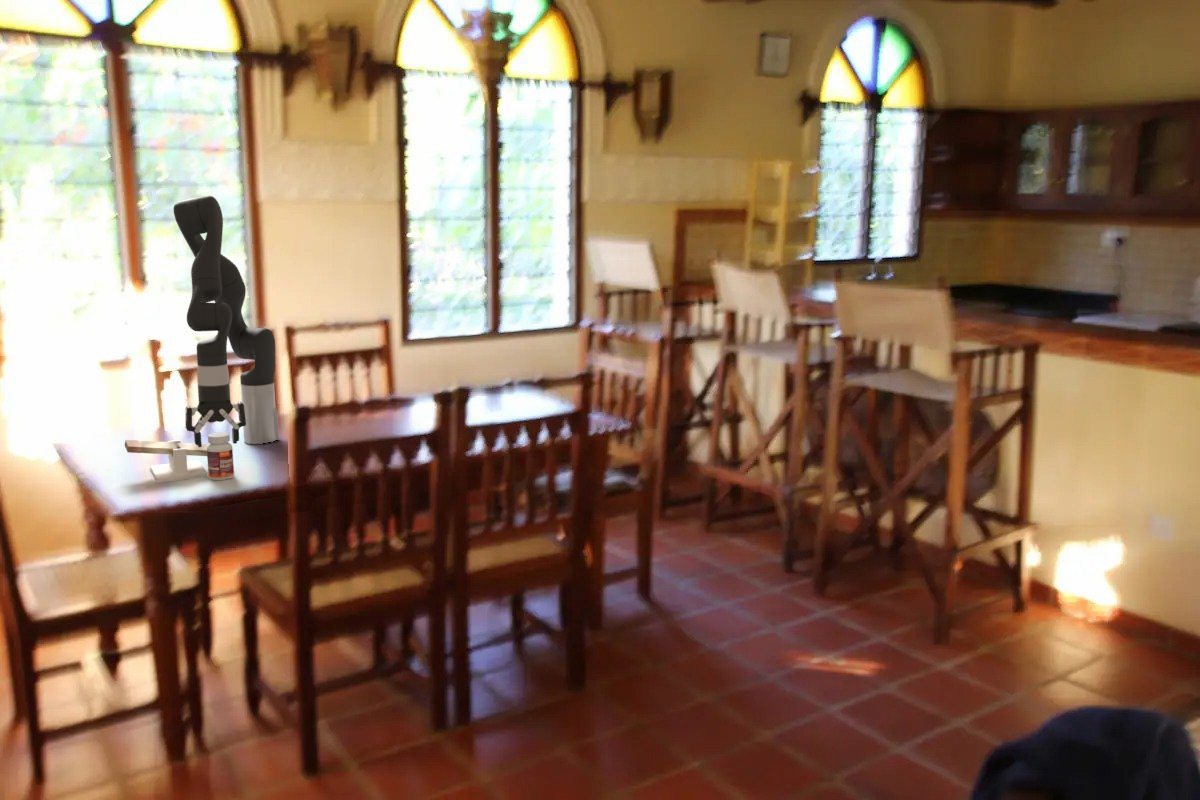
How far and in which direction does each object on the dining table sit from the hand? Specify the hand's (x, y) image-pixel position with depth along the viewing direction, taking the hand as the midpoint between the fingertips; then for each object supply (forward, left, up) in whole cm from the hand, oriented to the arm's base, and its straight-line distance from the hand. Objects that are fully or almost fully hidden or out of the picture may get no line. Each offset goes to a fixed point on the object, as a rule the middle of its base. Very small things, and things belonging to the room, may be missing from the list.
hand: (217, 444), depth 267 cm
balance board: (+8, -10, -2) cm, 13 cm away
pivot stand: (+8, -10, -9) cm, 15 cm away
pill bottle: (-1, 0, -9) cm, 9 cm away
